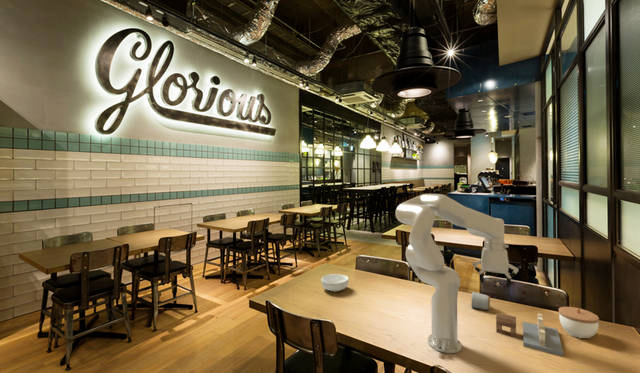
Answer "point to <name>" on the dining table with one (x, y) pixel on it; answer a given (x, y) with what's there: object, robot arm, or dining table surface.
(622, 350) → the dining table surface
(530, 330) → the slate board
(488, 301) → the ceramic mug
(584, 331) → the lidded bowl
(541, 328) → the maple fin
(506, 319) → the walnut slotted block
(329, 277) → the cereal bowl
